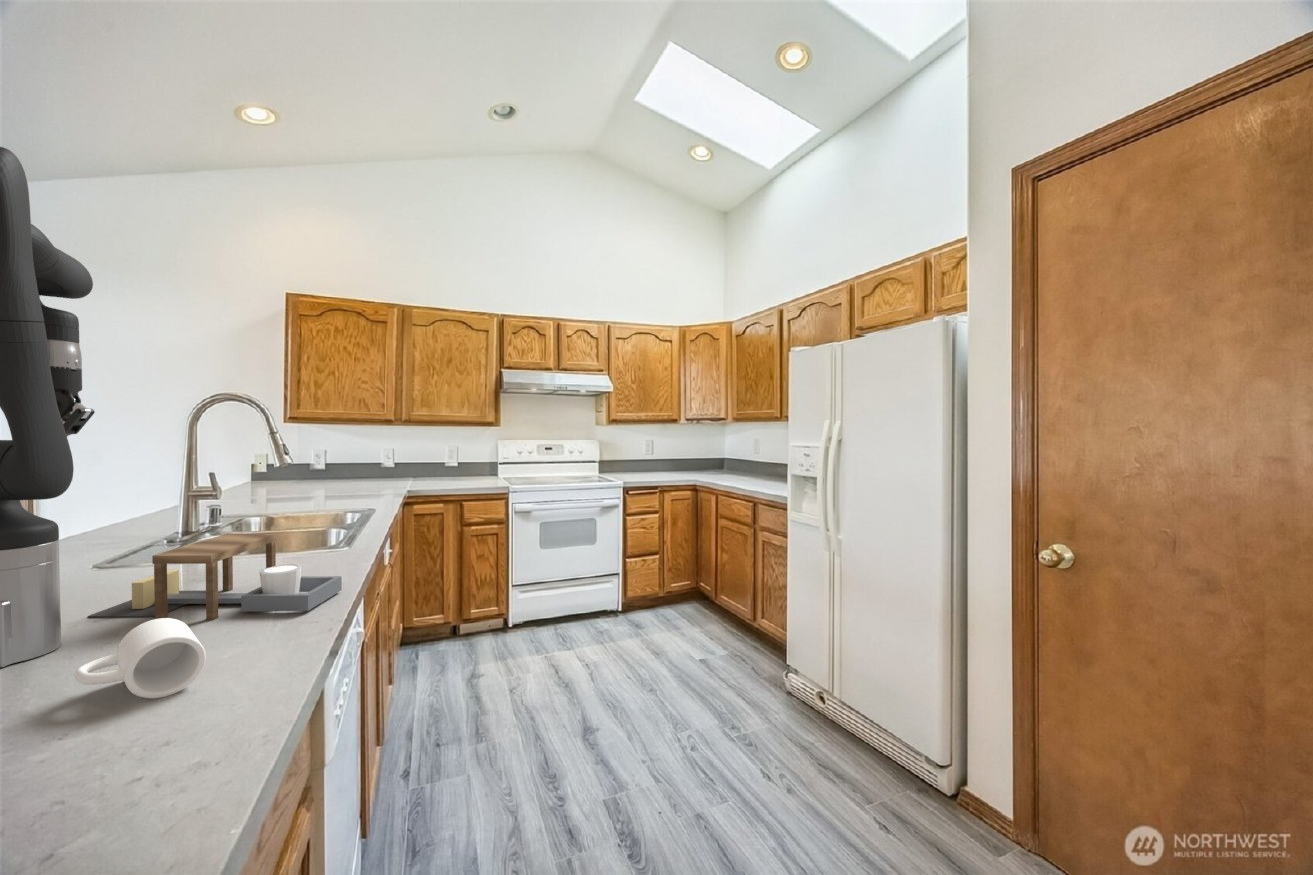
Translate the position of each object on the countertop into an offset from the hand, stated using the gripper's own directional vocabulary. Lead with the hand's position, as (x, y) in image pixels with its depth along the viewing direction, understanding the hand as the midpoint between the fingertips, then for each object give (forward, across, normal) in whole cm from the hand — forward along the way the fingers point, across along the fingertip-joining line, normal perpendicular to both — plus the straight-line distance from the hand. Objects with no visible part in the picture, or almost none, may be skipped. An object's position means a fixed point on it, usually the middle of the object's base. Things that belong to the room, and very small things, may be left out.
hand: (54, 457), depth 98 cm
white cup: (+29, +40, +2) cm, 49 cm away
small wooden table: (+29, +28, +2) cm, 40 cm away
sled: (+29, +32, +2) cm, 43 cm away
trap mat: (+29, +16, +2) cm, 33 cm away
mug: (+29, +42, -31) cm, 60 cm away
